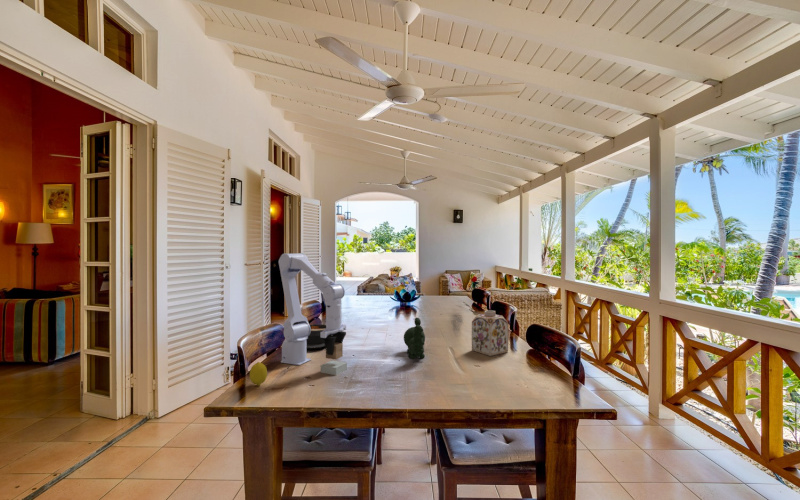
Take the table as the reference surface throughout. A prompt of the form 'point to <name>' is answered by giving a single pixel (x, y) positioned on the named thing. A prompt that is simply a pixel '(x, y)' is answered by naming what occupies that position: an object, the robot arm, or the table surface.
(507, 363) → the table surface
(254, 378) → the lemon
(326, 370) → the grey block
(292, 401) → the table surface
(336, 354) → the walnut block
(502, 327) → the decorative jar
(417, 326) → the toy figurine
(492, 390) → the table surface
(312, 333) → the casserole
